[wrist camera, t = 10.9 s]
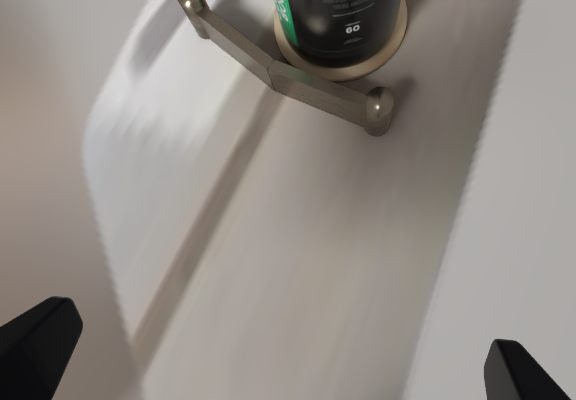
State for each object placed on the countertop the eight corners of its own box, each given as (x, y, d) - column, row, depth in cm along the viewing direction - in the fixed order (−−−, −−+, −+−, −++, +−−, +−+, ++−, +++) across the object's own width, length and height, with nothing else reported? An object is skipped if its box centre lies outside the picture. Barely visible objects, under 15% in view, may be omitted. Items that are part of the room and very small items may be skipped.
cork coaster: (359, 105, 24) (359, 102, 23) (250, 44, 26) (248, 40, 25) (432, -2, 25) (433, -7, 24) (321, -53, 26) (320, -58, 26)
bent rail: (374, 149, 23) (378, 127, 20) (187, 40, 27) (166, 7, 23) (394, 120, 23) (400, 95, 20) (205, 16, 27) (186, -20, 24)
